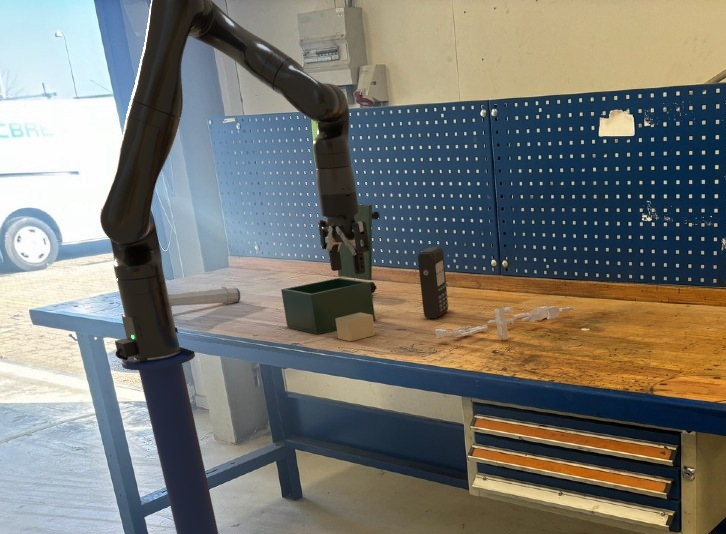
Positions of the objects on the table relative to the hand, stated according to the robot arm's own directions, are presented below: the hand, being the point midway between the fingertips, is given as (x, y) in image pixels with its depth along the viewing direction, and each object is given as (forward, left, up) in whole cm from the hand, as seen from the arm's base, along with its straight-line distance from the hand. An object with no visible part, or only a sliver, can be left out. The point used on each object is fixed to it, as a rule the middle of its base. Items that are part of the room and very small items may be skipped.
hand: (348, 271), depth 177 cm
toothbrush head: (-7, +63, -14) cm, 65 cm away
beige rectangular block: (0, 0, -14) cm, 14 cm away
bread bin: (+4, +16, -14) cm, 21 cm away
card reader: (+23, +1, -14) cm, 27 cm away
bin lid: (+12, +16, +4) cm, 21 cm away
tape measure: (+27, +36, -14) cm, 47 cm away
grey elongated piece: (+20, -24, -14) cm, 34 cm away
